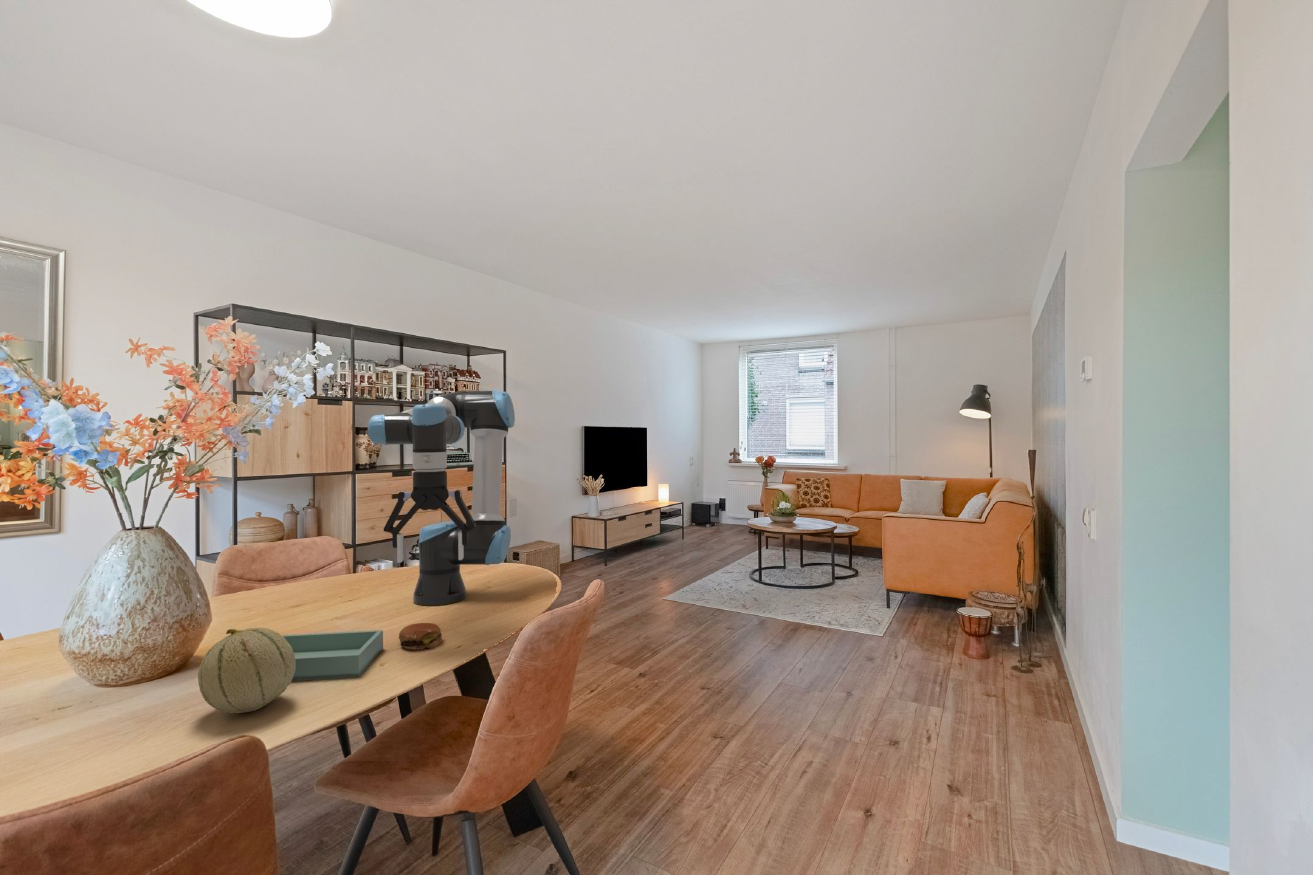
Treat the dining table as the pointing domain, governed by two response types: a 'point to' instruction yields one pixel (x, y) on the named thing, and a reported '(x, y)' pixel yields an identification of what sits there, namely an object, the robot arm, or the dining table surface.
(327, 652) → the teal tray
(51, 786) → the dining table surface
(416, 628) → the burger
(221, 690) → the cantaloupe
